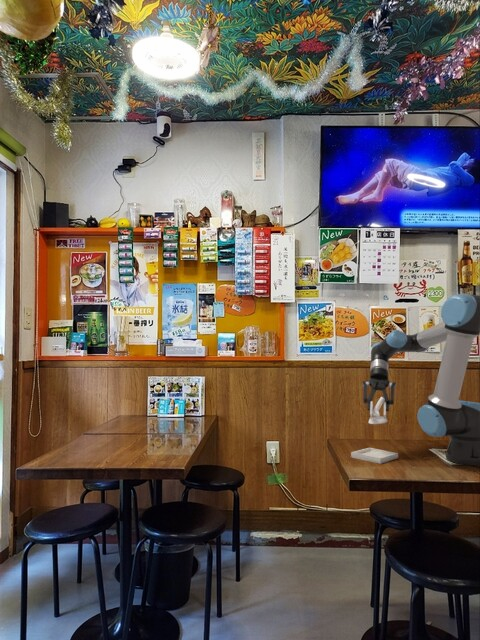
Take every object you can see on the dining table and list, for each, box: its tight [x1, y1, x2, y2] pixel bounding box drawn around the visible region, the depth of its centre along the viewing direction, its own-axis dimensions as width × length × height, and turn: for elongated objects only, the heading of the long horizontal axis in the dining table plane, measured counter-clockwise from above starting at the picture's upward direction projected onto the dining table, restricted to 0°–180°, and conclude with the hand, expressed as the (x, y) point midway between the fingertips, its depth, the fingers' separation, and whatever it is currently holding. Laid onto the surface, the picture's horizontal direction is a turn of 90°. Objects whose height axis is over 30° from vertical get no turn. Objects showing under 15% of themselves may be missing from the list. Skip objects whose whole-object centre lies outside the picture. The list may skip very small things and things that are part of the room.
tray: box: [350, 447, 399, 465], centre depth 175 cm, size 13×13×2 cm
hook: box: [368, 396, 389, 425], centre depth 178 cm, size 8×12×7 cm
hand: (377, 416), depth 175 cm, fingers closed on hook, 4 cm apart
